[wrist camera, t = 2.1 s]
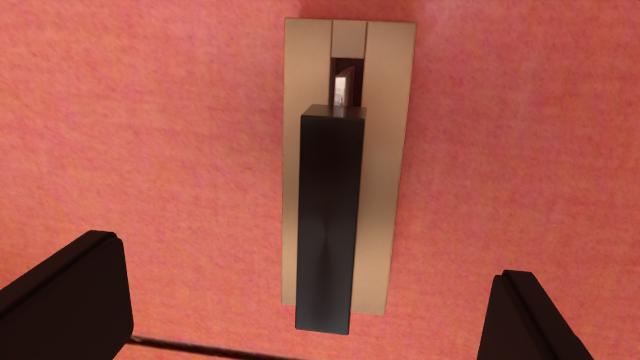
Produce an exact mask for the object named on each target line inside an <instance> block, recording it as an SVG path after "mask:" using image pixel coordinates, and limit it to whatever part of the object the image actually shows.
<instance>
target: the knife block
mask: <svg viewBox="0 0 640 360" xmlns="http://www.w3.org/2000/svg"><path fill="white" fill-rule="evenodd" d="M416 31H417V23H416V22H396V21H368V22H367V21H366V20H343V19H333V20H332V19H316V18H290V17H286V18H285V19H284V107H283V197H282V286H281V303H282V304H284V305H293V306H296V270H297V230H298V189H299V149H300V116H301V115H302V114H303V113H304V112H305V111H306V110H307V109H308V108H309V107H310V106H311V105H312V104H322V105H334V90H335V77H336V66H337V58H352V59H364V71H363V84H362V98H361V107H366V108H367V114H366V127H365V140H364V153H363V166H362V179H361V191H360V204H359V217H358V230H357V243H356V256H355V269H354V281H353V294H352V305H351V312H355V313H363V314H372V315H381V316H384V315H385V312H386V303H387V294H388V284H389V275H390V266H391V257H392V248H393V239H394V230H395V221H396V212H397V203H398V194H399V185H400V176H401V167H402V158H403V149H404V140H405V131H406V122H407V113H408V103H409V94H410V85H411V76H412V67H413V58H414V49H415V40H416Z"/></svg>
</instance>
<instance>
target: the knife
mask: <svg viewBox="0 0 640 360" xmlns="http://www.w3.org/2000/svg"><path fill="white" fill-rule="evenodd" d="M354 74H355V67H351V66H347V67H346V68H345V69H344V70H343V71H342V72H340V73H339V74H338V75H337V76H336V77H335V90H334V105H322V104H312V105H311V106H310V107H309V108H308V109H307V110H306V111H305V112H304V113H303V114H302V115H301V116H300V149H299V189H298V230H297V270H296V311H295V328H296V329H299V330H308V331H316V332H324V333H332V334H340V335H348V334H349V326H350V316H351V305H352V294H353V281H354V269H355V256H356V243H357V230H358V217H359V204H360V191H361V179H362V166H363V153H364V140H365V127H366V114H367V108H366V107H355V106H352V104H353V89H354Z"/></svg>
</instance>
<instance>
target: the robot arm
mask: <svg viewBox="0 0 640 360" xmlns="http://www.w3.org/2000/svg"><path fill="white" fill-rule="evenodd" d="M133 327H134V322H133V315H132V307H131V300H130V292H129V284H128V277H127V269H126V262H125V254H124V246H123V242H122V240H121V239H120V238H118V237H117V235H116V234H115V233H114V232H107V231H97V230H90V231H87V232H86V233H84V234H83V235H81V236H80V237H78V238H77V239H76V240H74V241H73V242H71V243H70V244H68V245H67V246H65V247H64V248H62V249H61V250H59V251H58V252H56V253H55V254H53V255H52V256H50V257H49V258H47V259H46V260H44V261H43V262H41V263H40V264H38V265H37V266H35V267H34V268H32V269H31V270H29V271H28V272H27V273H25V274H24V275H22V276H21V277H19V278H18V279H16V280H15V281H13V282H12V283H10V284H9V285H7V286H6V287H4V288H3V289H1V290H0V360H113V358H114V357H115V356H116V355H117V353H118V352H119V351H120V350H121V349H122V347H123V346H124V345H125V344H126V342H127V341H128V340H129V338H130V337H131V335H132V332H133ZM477 360H594V359H593V358H592V356H591V355H590V353H589V352H588V350H587V349H586V347H585V346H584V345H583V343H582V342H581V340H580V339H579V338H578V337H577V336H576V335H575V334H574V333H573V331H572V330H571V328H570V327H569V325H568V324H567V323H566V321H565V320H564V318H563V317H562V315H561V314H560V312H559V311H558V309H557V308H556V307H555V305H554V304H553V302H552V301H551V299H550V298H549V296H548V295H547V293H546V292H545V290H544V289H543V288H542V286H541V285H540V283H539V282H538V280H537V279H536V277H535V276H534V274H533V273H532V272H525V271H515V270H504V271H503V273H502V275H495V277H494V279H493V283H492V288H491V293H490V298H489V303H488V307H487V312H486V317H485V322H484V327H483V332H482V336H481V341H480V346H479V351H478V356H477Z"/></svg>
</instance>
